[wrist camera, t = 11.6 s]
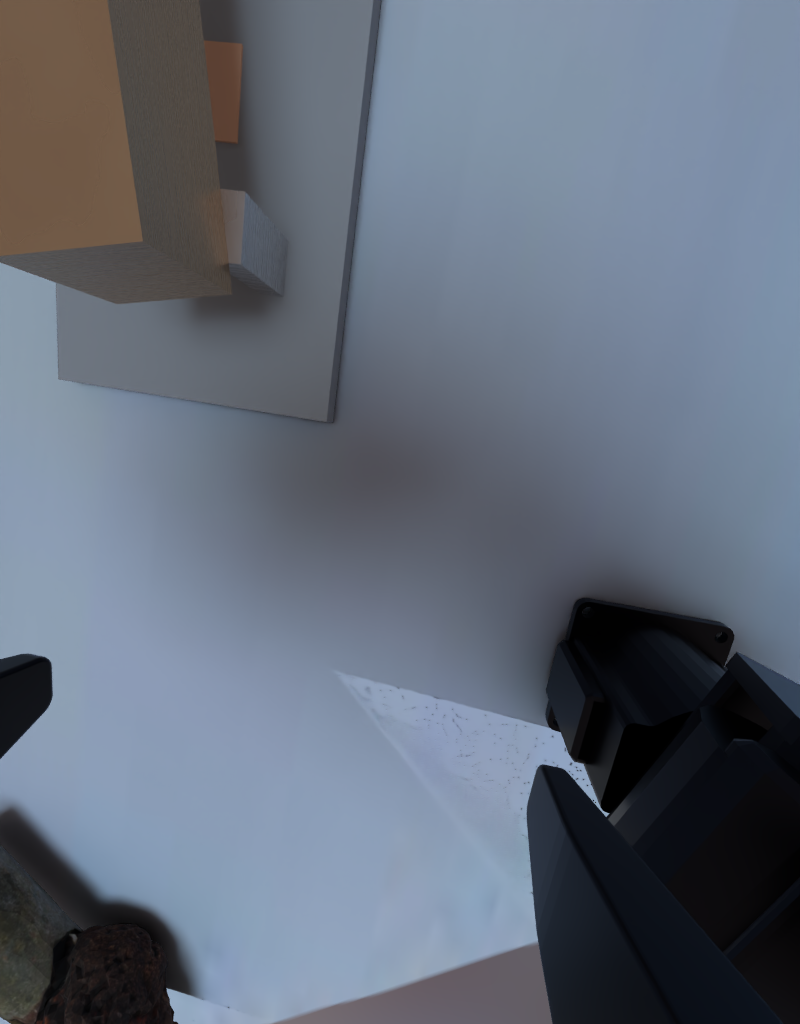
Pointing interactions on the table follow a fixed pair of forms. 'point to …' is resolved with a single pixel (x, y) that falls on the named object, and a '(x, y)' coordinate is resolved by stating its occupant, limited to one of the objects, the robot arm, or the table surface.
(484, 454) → the table surface
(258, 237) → the set of grey blocks
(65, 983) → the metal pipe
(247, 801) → the table surface
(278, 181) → the plate
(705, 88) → the table surface
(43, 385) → the table surface
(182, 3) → the tan wooden bar
